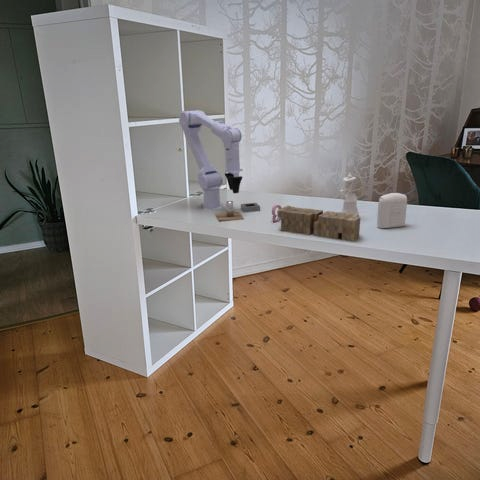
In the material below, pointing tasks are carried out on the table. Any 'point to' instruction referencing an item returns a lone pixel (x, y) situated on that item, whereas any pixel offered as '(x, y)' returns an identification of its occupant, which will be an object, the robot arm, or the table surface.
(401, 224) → the off-white upright rounded block
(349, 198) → the figurine
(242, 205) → the chuck block
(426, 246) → the table surface
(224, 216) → the pad
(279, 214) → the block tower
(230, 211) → the silver metal cylinder
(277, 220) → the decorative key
